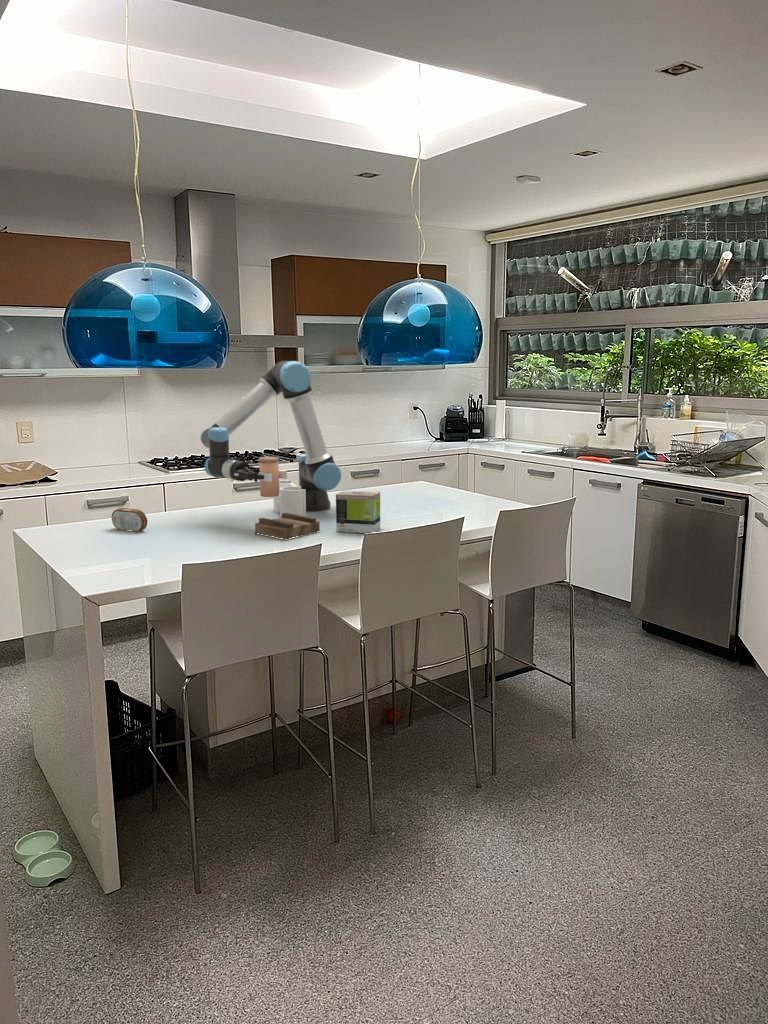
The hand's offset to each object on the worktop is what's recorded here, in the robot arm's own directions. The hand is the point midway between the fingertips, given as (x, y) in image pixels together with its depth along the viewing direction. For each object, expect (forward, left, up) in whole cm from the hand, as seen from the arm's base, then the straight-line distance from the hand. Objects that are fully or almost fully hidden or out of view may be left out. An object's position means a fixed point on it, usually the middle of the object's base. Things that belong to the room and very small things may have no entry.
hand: (278, 476), depth 292 cm
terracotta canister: (0, -5, -8) cm, 9 cm away
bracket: (-29, -25, -22) cm, 44 cm away
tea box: (-24, +18, -22) cm, 37 cm away
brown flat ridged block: (-4, 0, -22) cm, 22 cm away
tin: (+31, -49, -22) cm, 62 cm away
